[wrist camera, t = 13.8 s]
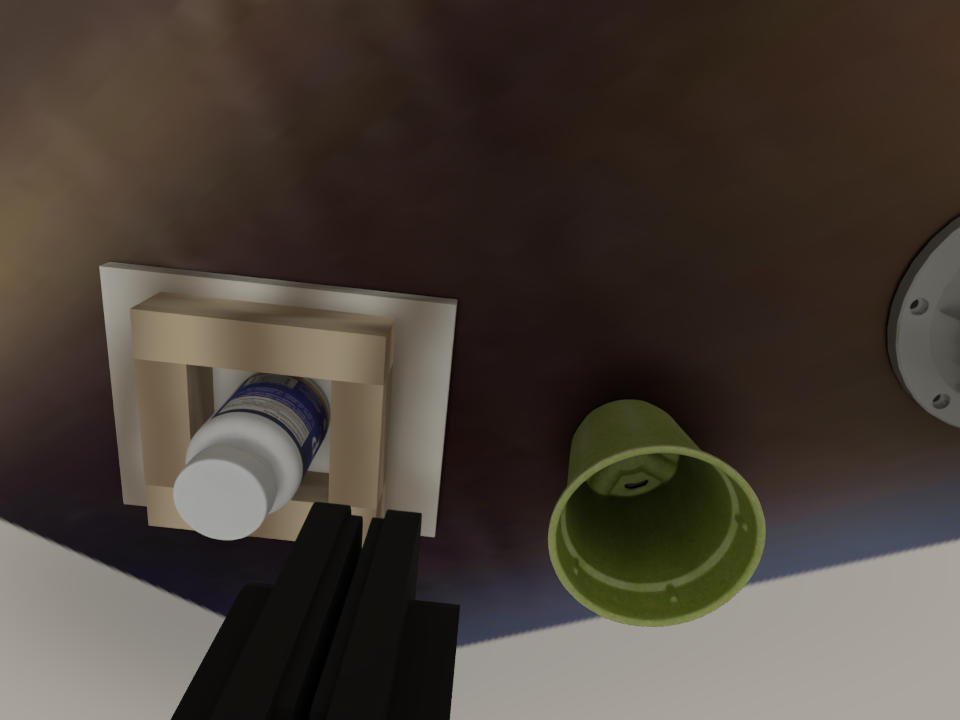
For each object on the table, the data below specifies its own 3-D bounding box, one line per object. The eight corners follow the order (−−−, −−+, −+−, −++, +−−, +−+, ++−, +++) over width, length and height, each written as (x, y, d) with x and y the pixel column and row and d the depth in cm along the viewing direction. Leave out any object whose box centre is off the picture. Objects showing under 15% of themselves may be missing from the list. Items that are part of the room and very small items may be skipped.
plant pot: (567, 537, 40) (583, 648, 32) (517, 398, 37) (520, 482, 29) (725, 494, 39) (784, 599, 30) (687, 347, 35) (741, 420, 27)
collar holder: (457, 299, 35) (451, 323, 31) (436, 526, 40) (429, 571, 36) (110, 261, 35) (62, 281, 31) (132, 494, 40) (94, 534, 36)
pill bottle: (296, 471, 38) (237, 575, 30) (216, 416, 37) (132, 508, 28) (351, 405, 36) (306, 496, 28) (269, 346, 35) (197, 421, 27)
